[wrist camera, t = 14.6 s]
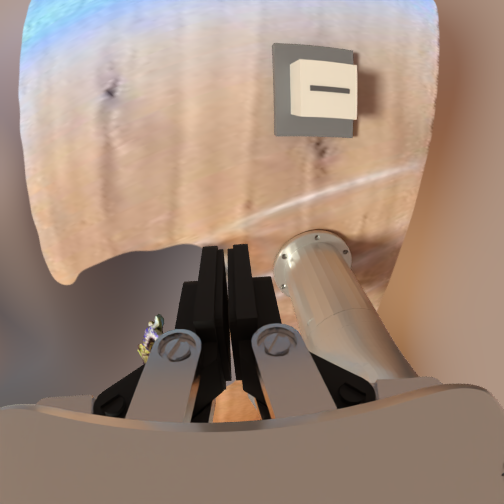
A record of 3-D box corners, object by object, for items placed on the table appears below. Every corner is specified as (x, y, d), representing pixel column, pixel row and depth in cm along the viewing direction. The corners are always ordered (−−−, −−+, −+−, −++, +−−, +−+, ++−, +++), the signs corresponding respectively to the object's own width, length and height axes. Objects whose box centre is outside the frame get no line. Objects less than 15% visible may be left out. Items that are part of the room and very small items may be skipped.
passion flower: (159, 304, 53) (139, 310, 41) (212, 320, 53) (205, 331, 41) (147, 356, 51) (126, 374, 39) (198, 373, 52) (189, 396, 40)
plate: (348, 136, 34) (352, 138, 33) (274, 134, 34) (276, 136, 32) (348, 52, 28) (352, 50, 27) (272, 45, 27) (273, 43, 26)
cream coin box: (340, 68, 28) (357, 65, 24) (340, 116, 31) (357, 119, 27) (289, 64, 28) (300, 58, 23) (290, 114, 31) (301, 116, 26)
